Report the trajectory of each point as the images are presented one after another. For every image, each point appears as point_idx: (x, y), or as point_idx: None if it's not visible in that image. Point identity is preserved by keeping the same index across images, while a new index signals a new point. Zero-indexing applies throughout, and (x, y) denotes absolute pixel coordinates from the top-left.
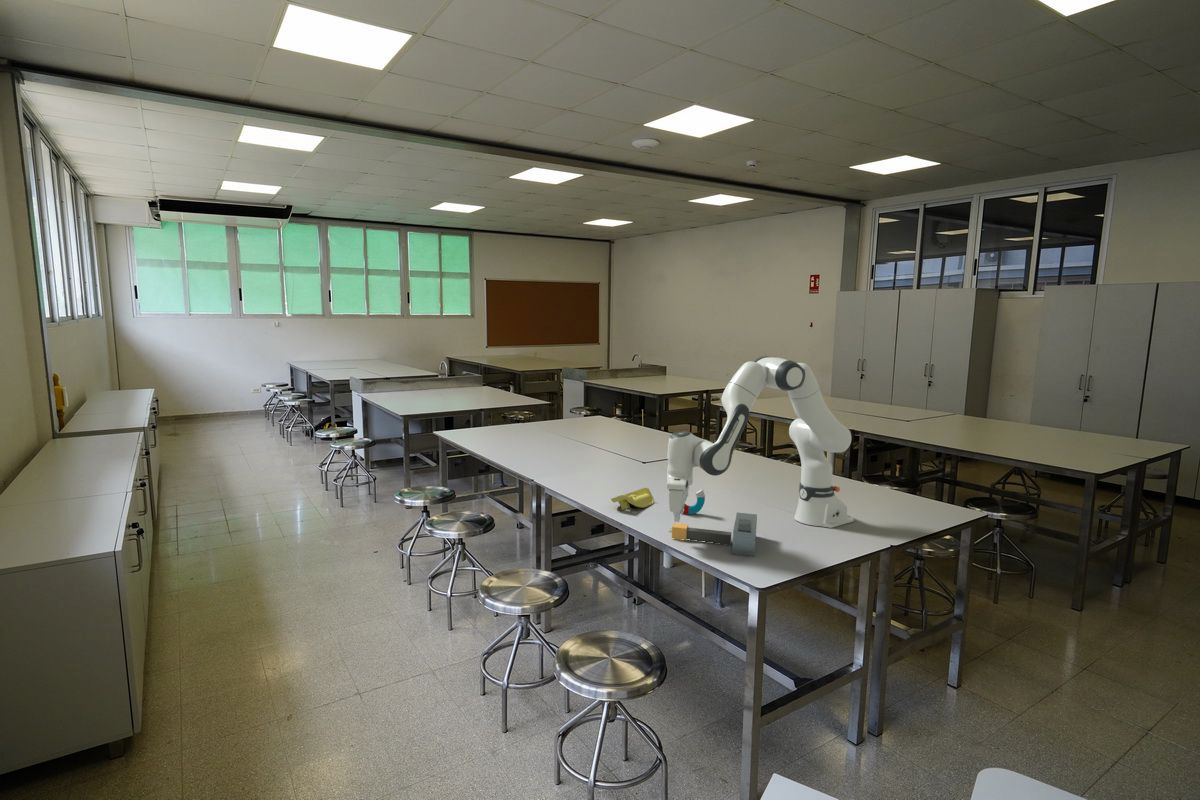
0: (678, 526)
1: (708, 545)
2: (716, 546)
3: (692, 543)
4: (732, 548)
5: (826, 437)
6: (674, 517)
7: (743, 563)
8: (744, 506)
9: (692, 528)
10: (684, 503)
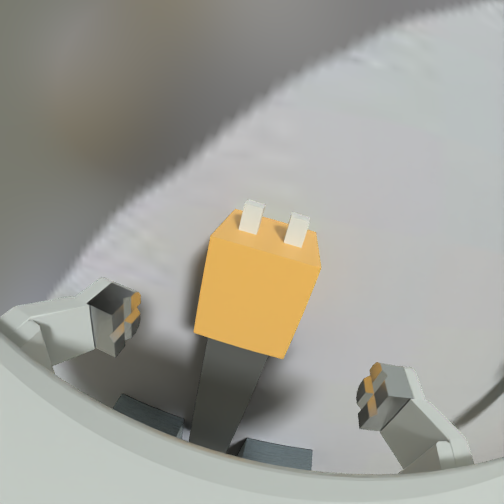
0: (230, 289)
1: (177, 363)
2: (175, 383)
3: (185, 310)
4: (113, 407)
5: None
6: (82, 294)
7: (81, 388)
8: (499, 446)
9: (251, 363)
10: (401, 465)
